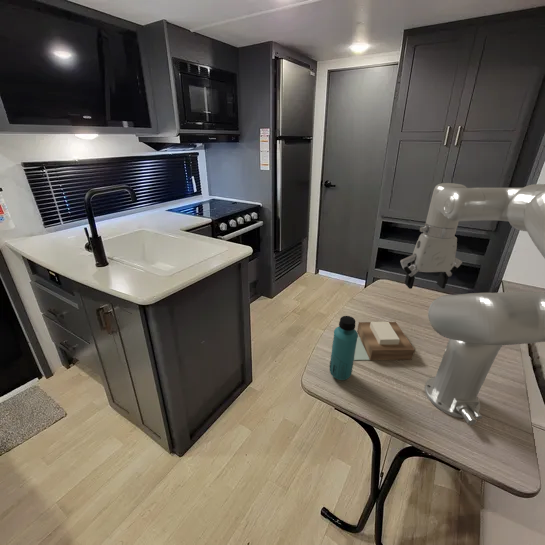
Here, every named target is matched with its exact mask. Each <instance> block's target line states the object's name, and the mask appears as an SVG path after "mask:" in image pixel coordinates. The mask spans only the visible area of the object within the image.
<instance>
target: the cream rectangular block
mask: <svg viewBox="0 0 545 545" xmlns="http://www.w3.org/2000/svg"><path fill="white" fill-rule="evenodd" d="M370 322H371V323H370V328H371V330H372V332H373V334H374V336H375V338H376V339H377V341H378V343H379V345H393V344H399V340H400V339H399V338H398V336H397V334H396V333H395V331H394V330H393V328H392V327H391V325H390V324H389V322H390V321H370Z"/></svg>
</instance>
